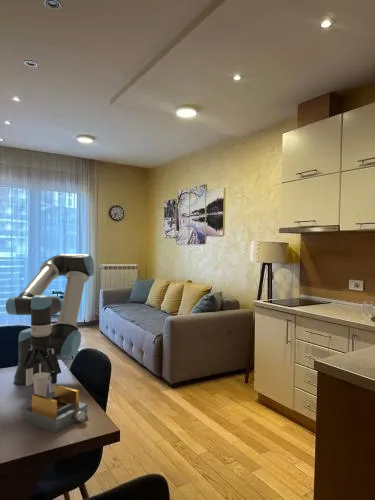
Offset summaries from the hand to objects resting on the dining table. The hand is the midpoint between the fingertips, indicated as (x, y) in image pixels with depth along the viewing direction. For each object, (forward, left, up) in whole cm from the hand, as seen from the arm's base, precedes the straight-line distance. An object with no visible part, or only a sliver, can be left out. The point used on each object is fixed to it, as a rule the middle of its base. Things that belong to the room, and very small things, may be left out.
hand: (40, 388), depth 140 cm
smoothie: (0, 0, -5) cm, 5 cm away
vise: (+20, -8, -4) cm, 22 cm away
